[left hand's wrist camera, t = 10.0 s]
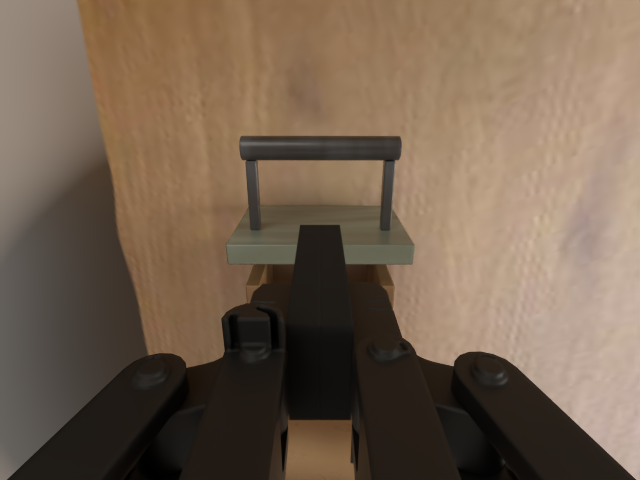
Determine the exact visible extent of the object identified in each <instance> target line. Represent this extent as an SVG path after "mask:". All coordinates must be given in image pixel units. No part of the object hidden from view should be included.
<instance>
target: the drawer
mask: <svg viewBox="0 0 640 480" xmlns="http://www.w3.org/2000/svg"><path fill="white" fill-rule="evenodd" d="M401 146H402V145H401V138H400V136H241V138H240V156H241V159H242V160H247V161H246V176H247V190H248V204H249V208H248V210H247V211H246V213H245V215H244V216H243V218H242V220H241V221H240V223H239V225H238V226H237V228H236V229H235V231H234V233H233V234H232V236H231V238H230V239H229V241H228V243H227V244H226V251H227V262H228V264H254V266H253V269H252V271H251V274H250V277H249V279H248V282H247V285H246V294H247V304H248V303H250V301H251V298H252V295H253V292H254V291H255V290H256V289H257V288H258V287H260V286H261V285H262V284H292V277H293V270H294V263H295V256H296V249H297V243H298V236H299V229H300V225H340V229H341V236H342V243H343V249H344V256H345V263H346V270H347V277H348V282H377V283H378V284H380V285H381V286H382V287H383V288H384V289H385V290H386V291H387V293H388V296H389V299H390V302H391V305H392V308H393V301H394V289H395V286H394V283H393V281H392V278H391V276H390V273H389V270H388V268H387V265H386V264H413V260H414V250H415V245H414V243H413V242H412V240H411V238H410V237H409V235H408V233H407V232H406V230H405V228H404V227H403V225H402V223H401V222H400V220H399V219H398V217H397V215H396V214H395V212H394V210H393V209H392V202H393V188H394V175H395V161H394V160H399V159H400V156H401ZM257 160H384V161H383V177H382V193H381V206H260V195H259V178H258V161H257Z"/></svg>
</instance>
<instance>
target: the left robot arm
mask: <svg viewBox="0 0 640 480" xmlns="http://www.w3.org/2000/svg"><path fill="white" fill-rule="evenodd" d="M221 320H222V329H223V338H224V347H225V352H224V355H223V357H222V358H220V359H218V360H216V361H213V362H210V363H207V364H203V365H198V366H194V367H189V368H186V363H185V362H184V360H183V359H182V358H181V357H179V356H177V355H174V354H167V353H159V354H154V355H149V356H146V357H143V358H141V359H139V360H136V361H134V362H133V363H131V364H130V365H129V366H127V367H126V368H125V369H123V370H122V371H121V372H120V373H119V374H118V375H117V376H116V377H115V378H114V379H113V380H112V381H111V382H110V383H109V384H108V385H107V386H106V387H104V388H103V389H102V390H101V391H100V392H99V393H98V394H97V395H96V396H95V397H94V398H93V399H92V400H91V401H90V402H89V403H88V404H87V405H85V406H84V407H83V408H82V409H81V410H80V411H79V412H78V413H77V414H76V415H75V416H74V417H73V418H72V419H71V420H70V421H69V422H68V423H66V424H65V425H64V426H63V427H62V428H61V429H60V430H59V431H58V432H57V433H56V434H55V435H54V436H53V437H52V438H51V439H50V440H49V441H47V442H46V443H45V444H44V445H43V446H42V447H41V448H40V449H39V450H38V451H37V452H36V453H35V454H34V455H33V456H32V457H31V458H30V459H29V460H27V461H26V462H25V463H24V464H23V465H22V466H21V467H20V468H19V469H18V470H17V471H16V472H15V473H14V474H13V475H12V476H11V477H9V478H8V479H7V480H285V476H286V465H287V453H288V441H289V435H288V418H289V420H351V416H352V435H351V460H350V463H353V464H354V476H355V480H636V479H635V478H634V477H633V476H631V475H630V474H629V473H628V472H627V471H626V470H625V469H624V468H623V467H622V466H621V465H620V464H619V463H618V462H617V461H616V460H614V459H613V458H612V457H611V456H610V455H609V454H608V453H607V452H606V451H605V450H604V449H603V448H602V447H601V446H600V445H599V444H597V443H596V442H595V441H594V440H593V439H592V438H591V437H590V436H589V435H588V434H587V433H586V432H585V431H584V430H583V429H582V428H580V427H579V426H578V425H577V424H576V423H575V422H574V421H573V420H572V419H571V418H570V417H569V416H568V415H567V414H566V413H565V412H563V411H562V410H561V409H560V408H559V407H558V406H557V405H556V404H555V403H554V402H553V401H552V400H551V399H550V398H549V397H548V396H546V395H545V394H544V393H543V392H542V391H541V390H540V389H539V388H538V387H537V386H536V385H535V384H534V383H533V382H532V381H531V380H529V379H528V378H527V377H526V376H525V375H524V374H523V373H522V372H521V371H520V370H519V369H518V368H517V367H515V366H514V365H513V364H511V363H510V362H509V361H507V360H506V359H503V358H501V357H499V356H496V355H494V354H490V353H485V352H467V353H465V354H462V355H460V356H459V357H458V358H457V359H456V360H455V362H454V366H449V365H445V364H440V363H435V362H432V361H429V360H426V359H424V358H421V357H419V356H417V354H416V352H415V350H414V348H413V347H412V345H411V344H410V343H409V342H408V341H406V340H405V339H403V338H402V335H401V332H400V329H399V326H398V323H397V320H396V317H395V314H394V311H393V308H392V305H391V302H390V299H389V296H388V293H387V291H386V290H385V289H384V288H383V287H382V286H381V285H380V284H378V283H377V282H348V277H347V270H346V263H345V256H344V249H343V243H342V236H341V229H340V225H300V229H299V236H298V243H297V249H296V256H295V263H294V270H293V277H292V284H262V285H261V286H260V287H258V288H257V289H256V290H255V291H254V292H253V295H252V298H251V301H250V303H248V304H243V305H240V306H237V307H234V308H233V309H231V310H229V311H228V312H226V313H225V315H224V316H223V317H222V319H221Z"/></svg>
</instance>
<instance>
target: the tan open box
mask: <svg viewBox="0 0 640 480" xmlns="http://www.w3.org/2000/svg"><path fill="white" fill-rule="evenodd" d="M288 435H289V441H288V453H287V465H286V476H285V480H355V476H354V464H353V463H350V460H351V435H352V416H351V420H289V418H288Z"/></svg>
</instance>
